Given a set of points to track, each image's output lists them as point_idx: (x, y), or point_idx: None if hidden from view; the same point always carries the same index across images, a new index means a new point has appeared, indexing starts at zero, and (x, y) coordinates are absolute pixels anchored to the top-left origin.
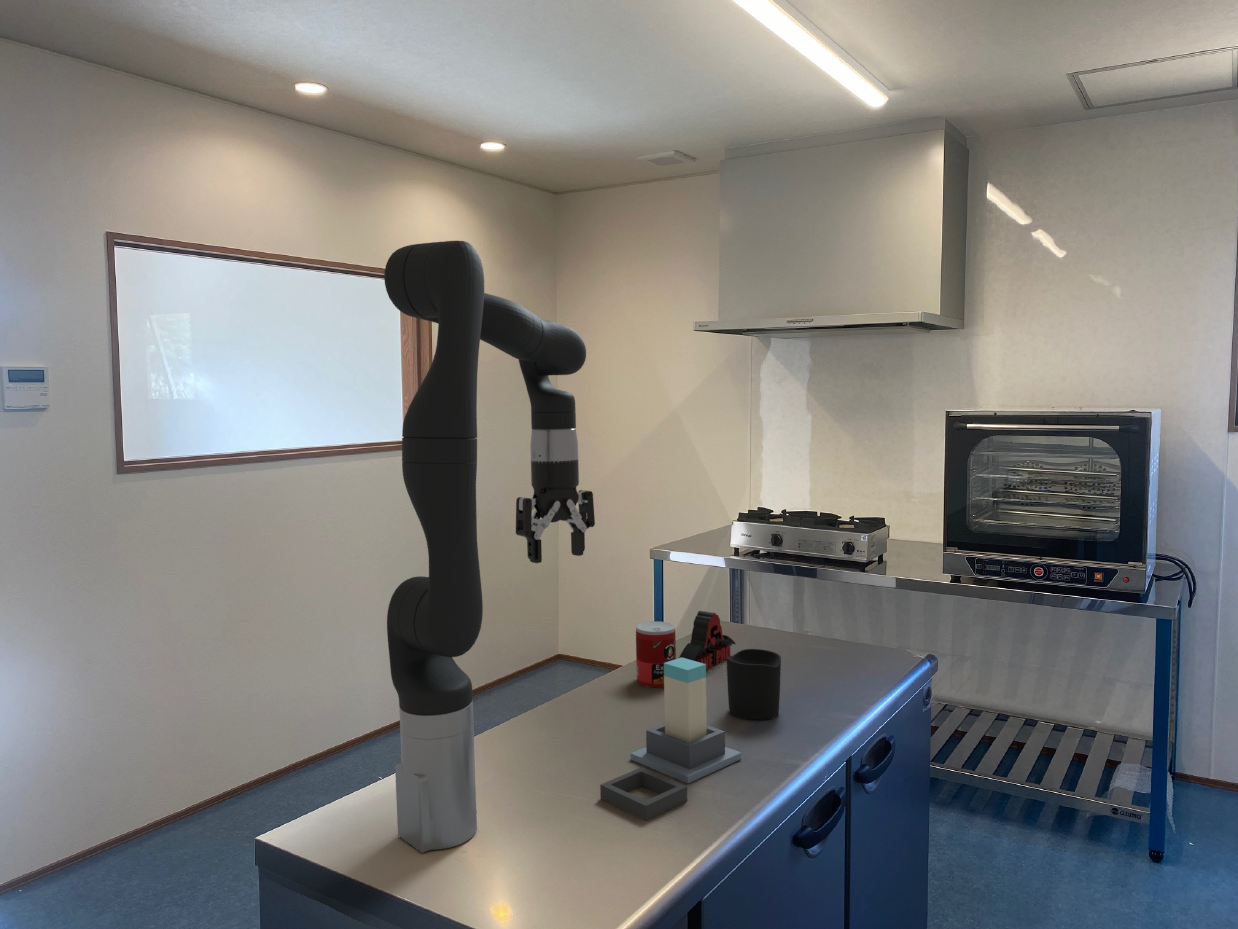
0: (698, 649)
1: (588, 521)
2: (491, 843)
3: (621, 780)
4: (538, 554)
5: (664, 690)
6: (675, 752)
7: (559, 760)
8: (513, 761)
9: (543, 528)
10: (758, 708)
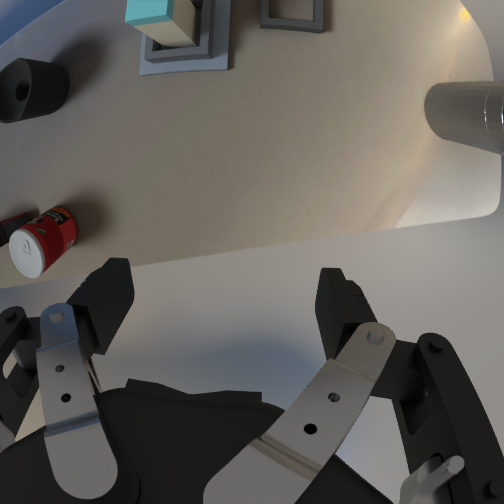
0: (8, 224)
1: (17, 330)
2: (432, 65)
3: (298, 20)
4: (346, 282)
5: (178, 26)
6: (212, 15)
7: (285, 127)
8: (320, 164)
9: (344, 362)
10: (56, 65)
